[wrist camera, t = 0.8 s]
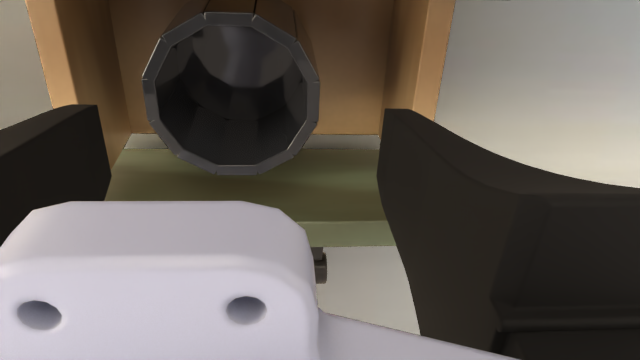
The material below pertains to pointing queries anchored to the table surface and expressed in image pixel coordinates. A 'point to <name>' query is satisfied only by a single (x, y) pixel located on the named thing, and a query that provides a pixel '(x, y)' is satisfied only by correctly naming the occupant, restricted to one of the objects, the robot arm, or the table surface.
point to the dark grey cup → (233, 85)
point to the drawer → (334, 118)
